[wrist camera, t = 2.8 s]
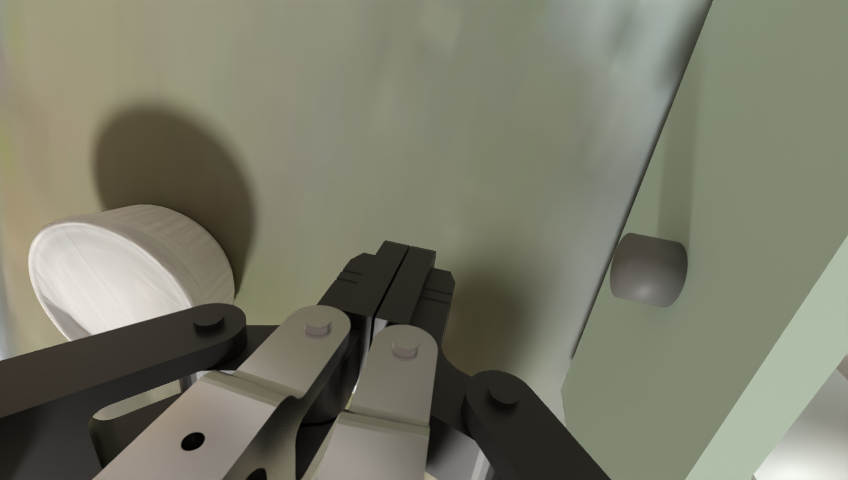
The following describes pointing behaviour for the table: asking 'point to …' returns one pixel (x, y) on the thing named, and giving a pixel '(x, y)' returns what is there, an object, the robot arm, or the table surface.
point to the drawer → (732, 267)
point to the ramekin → (125, 268)
